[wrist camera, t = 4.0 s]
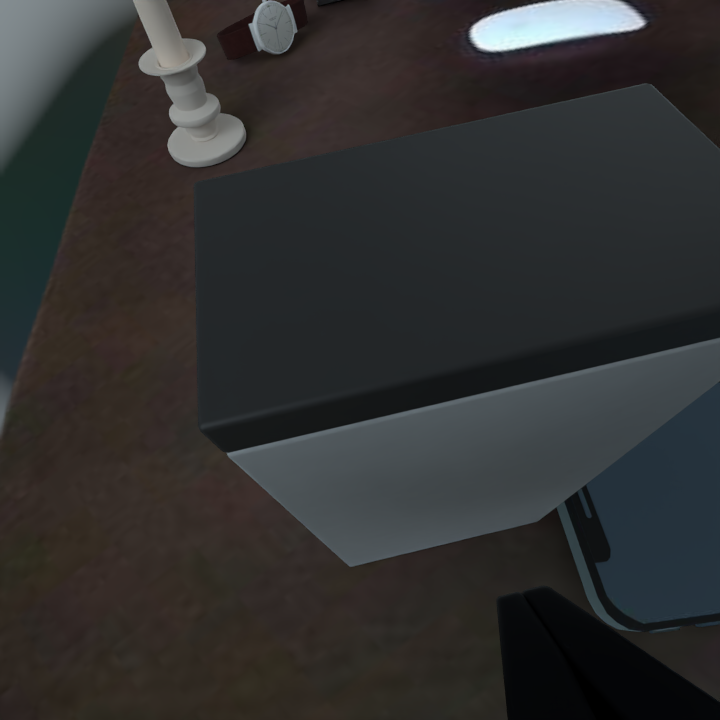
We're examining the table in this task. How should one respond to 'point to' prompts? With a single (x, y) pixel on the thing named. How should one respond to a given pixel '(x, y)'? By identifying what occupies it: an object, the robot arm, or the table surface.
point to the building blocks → (326, 2)
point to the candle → (187, 92)
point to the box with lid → (458, 316)
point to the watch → (264, 29)
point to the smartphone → (654, 527)
